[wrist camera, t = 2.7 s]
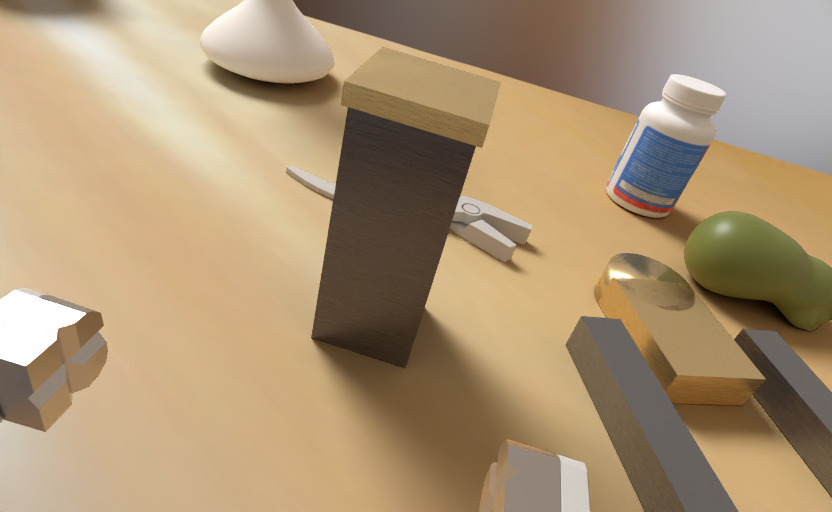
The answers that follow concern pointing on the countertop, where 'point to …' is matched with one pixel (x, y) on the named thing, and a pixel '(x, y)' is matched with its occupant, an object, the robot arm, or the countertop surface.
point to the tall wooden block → (396, 197)
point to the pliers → (458, 219)
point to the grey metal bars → (665, 430)
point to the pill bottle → (665, 147)
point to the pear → (760, 267)
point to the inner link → (676, 333)
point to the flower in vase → (268, 43)
